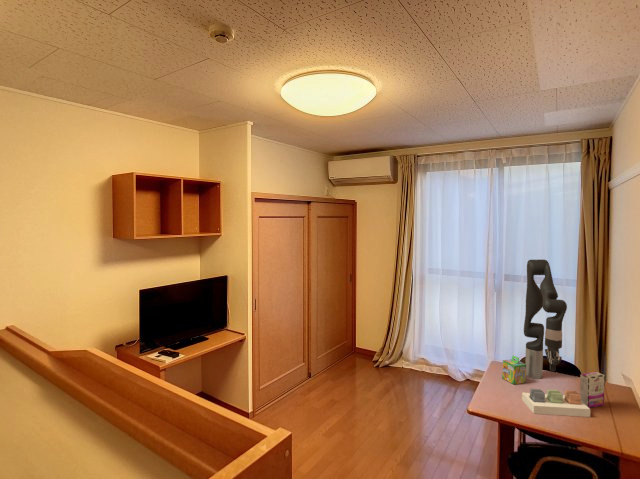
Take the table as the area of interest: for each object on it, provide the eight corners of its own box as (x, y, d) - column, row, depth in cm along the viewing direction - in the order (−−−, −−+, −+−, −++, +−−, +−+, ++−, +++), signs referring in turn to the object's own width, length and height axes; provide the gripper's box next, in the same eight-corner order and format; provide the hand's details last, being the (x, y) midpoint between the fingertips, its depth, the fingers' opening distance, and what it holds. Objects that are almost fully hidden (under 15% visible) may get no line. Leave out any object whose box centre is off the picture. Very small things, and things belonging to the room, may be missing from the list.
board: (521, 399, 196) (522, 392, 195) (573, 402, 192) (574, 395, 192) (533, 413, 182) (534, 405, 182) (590, 417, 178) (590, 409, 178)
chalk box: (501, 378, 222) (502, 354, 221) (513, 376, 225) (514, 353, 224) (513, 385, 213) (514, 360, 212) (526, 383, 216) (526, 358, 215)
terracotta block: (564, 401, 189) (564, 390, 188) (574, 402, 188) (575, 390, 188) (569, 406, 184) (570, 395, 183) (580, 407, 183) (581, 395, 183)
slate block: (529, 399, 191) (530, 388, 190) (539, 400, 190) (540, 389, 190) (534, 404, 186) (534, 393, 185) (544, 405, 185) (544, 393, 185)
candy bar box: (594, 401, 194) (596, 371, 193) (604, 405, 189) (605, 375, 188) (578, 403, 191) (579, 373, 190) (587, 408, 186) (589, 377, 186)
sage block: (547, 400, 190) (547, 389, 189) (557, 401, 189) (557, 390, 189) (551, 405, 185) (552, 394, 184) (562, 406, 184) (562, 394, 184)
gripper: (539, 333, 195) (538, 365, 195) (552, 341, 182) (551, 375, 182) (554, 334, 194) (553, 366, 194) (568, 341, 181) (567, 376, 181)
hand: (552, 370), depth 188 cm, fingers closed
